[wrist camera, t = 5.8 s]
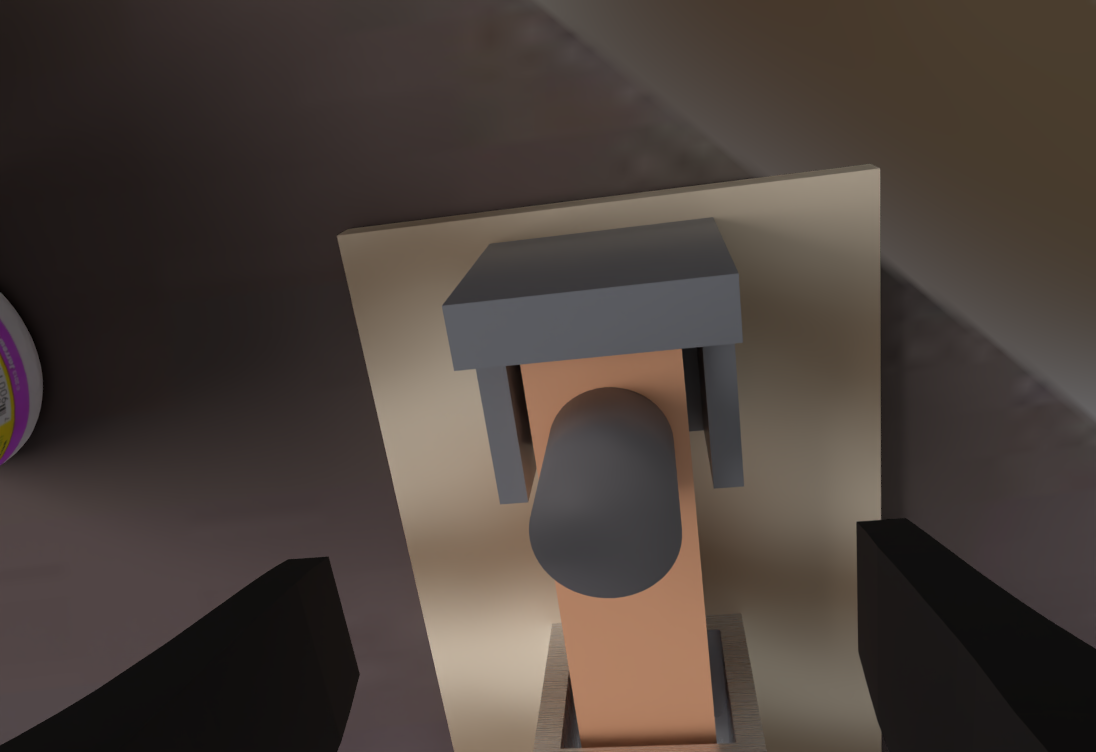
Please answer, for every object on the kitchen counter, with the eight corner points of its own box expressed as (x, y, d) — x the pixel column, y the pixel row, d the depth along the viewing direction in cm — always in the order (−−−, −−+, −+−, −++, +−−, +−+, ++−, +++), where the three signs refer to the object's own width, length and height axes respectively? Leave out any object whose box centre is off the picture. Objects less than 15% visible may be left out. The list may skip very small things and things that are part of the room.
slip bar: (713, 732, 22) (740, 971, 16) (600, 736, 23) (587, 970, 17) (674, 294, 18) (691, 408, 12) (536, 308, 18) (490, 426, 13)
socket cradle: (727, 417, 20) (754, 528, 15) (521, 435, 21) (487, 546, 16) (713, 216, 18) (738, 273, 14) (489, 243, 19) (441, 305, 14)
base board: (874, 814, 25) (881, 838, 24) (480, 822, 27) (475, 844, 26) (870, 163, 18) (880, 168, 18) (347, 228, 20) (337, 235, 19)
